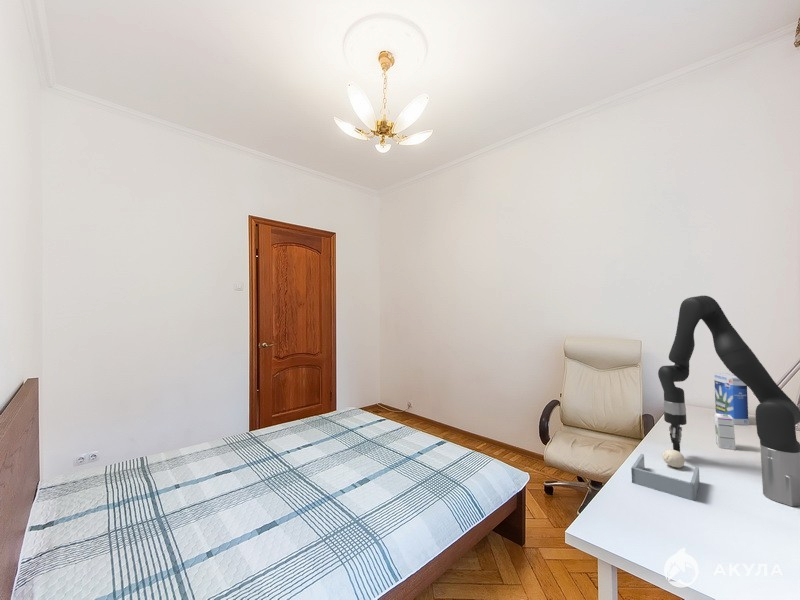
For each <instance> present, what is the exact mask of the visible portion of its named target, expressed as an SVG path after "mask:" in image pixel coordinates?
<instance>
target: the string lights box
mask: <svg viewBox="0 0 800 600" xmlns="http://www.w3.org/2000/svg"><path fill="white" fill-rule="evenodd" d="M713 376H714V403H715V414H727V415H730V416H731V417H732V418H733V421H734V426H735V425H736V426H749V399H748V398H749V397H748V386H747V385H746V384H745V383H743V382H742V381H741V380H740V379H739V378H737V377H736V376H735V375H734V374H732V373H731V374H730V373H724V372H722V373H721V372H717V373H716V372H714V374H713Z"/></svg>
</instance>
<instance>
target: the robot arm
mask: <svg viewBox="0 0 800 600" xmlns="http://www.w3.org/2000/svg"><path fill="white" fill-rule="evenodd" d="M677 319H678V320H677V327H676V332H675V337H674V340H673V343H672V346H671V348H670V351H669V354H668V360H669V361H670V362H672V363H674V365H670V364H669V365H662V366H660V367H659V369H658V372H657V375H658V379H659V383H660V386H661V387H662V390H663V420H664V422H665V423H668V424H670V425H669V426H668V427H669V430H668V431H669V436H670V440H671V441H670V442H671V444H672V450H676V451H679V452H680V453H681V441H682V431H683V427H682V426H685V425H687V421H688V420H687V408H686V402H685V401H686V399H685V397H686V396H685V390H684V389H683V388H681V387H677V386H676V384H675V383H676V382H677V383H678V382H679V383H680V382H684V381H686V380H687V379H688V378H689V376H690V360H691V358H692V356H693V353H694V349H695V345H696V344H695V329H696V327H697V326H698V325H699V322H700V321H701V320H702V322H703V323H704V324H705V325H706V326H707V328H708V330H709V331H710V333H711V336H712V341H713V347H714V350H715V353H716V355H717V356H718V358H719V359H720V360H721V362H722V363H723V365H724V366H725V368H727V370H728V371H729V372H730V373H731V374H732V375H735V376H736V377H737V378H739V379H740V380H741V381H742V382H743V383H745V384H746V385H747V388H748V389H750V390H751V392H752V394H754V396H755V397H756V399H757V400H758V402H759V404H757V406H756V407H755V424H756V434H757V436H758V439H759V444H760V445H759V447H760V462H761V463H760V464H761V466H760V467H761V481H762V482H761V483H762V495H764V496H765V498H768V499H770V500H772V501H774V502H778V503H780V504H784V505H788V506H790V507H792V506H793V507H800V442H799V441H798V439H797V431H796V425H797V424H799V423H800V408H799V407H798V405H797V404H796V403H795V402H794V401H793V400H792V399H791V398H790V397H789V396H788V395H787V394H786V393H785V392H784V390H782V388H780V386H779V385H778V384H777V383H776V381H775V380H774V379H773V377H772V376H771V375H770V374H769V372H768V370H767V369H766V368H765V366H764V365H763V364H762V363H761V362H760V361H761V360H759V358H758V357H757V355H755V353H754V352H753V350H752V349H751V348H750V346H749V345H748V344H747V343H746V342H745V341H744V339H743V337H741V335H740V334H739V333H738V331H737V330H736V329H735V328H734V326H733V325H732V324H731V322H730V320H729V319H728V317H727V315H726V314H725V312H724V311H723V309H722V307H721V306H720V304H719V303H718V301H717V300H715V298H713V297H711V296H709V295H697V296H691V297H687V298H685V299H684V300H682V302H681V304H680V307H679V311H678V317H677Z"/></svg>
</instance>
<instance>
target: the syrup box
mask: <svg viewBox="0 0 800 600" xmlns="http://www.w3.org/2000/svg"><path fill="white" fill-rule="evenodd" d="M713 415H714V427H715V428H714V429H715V441H716V445H717V446H718V447H719V448H720V449H724V450H732V451H733V450H734V451H736V437H735V435H736V434H735V425H734V421H733V418H732V417H731V416H730V415H727V414H716V413H714V414H713Z"/></svg>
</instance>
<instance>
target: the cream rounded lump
mask: <svg viewBox="0 0 800 600" xmlns="http://www.w3.org/2000/svg"><path fill="white" fill-rule="evenodd" d="M662 460H663V461H664V462H665V463H666V464H667V465H668V466H669V467H672V468H676V469H677V468H678V469H679V468H682V467H683V466H684V465H685V462H686V459H685V456H684V454H683V453H681V451H680V452H679V451H676V450H673V448H672V449H666V450H665V451H664V452H663V454H662Z"/></svg>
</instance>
